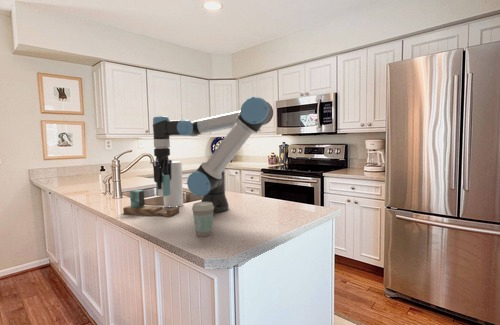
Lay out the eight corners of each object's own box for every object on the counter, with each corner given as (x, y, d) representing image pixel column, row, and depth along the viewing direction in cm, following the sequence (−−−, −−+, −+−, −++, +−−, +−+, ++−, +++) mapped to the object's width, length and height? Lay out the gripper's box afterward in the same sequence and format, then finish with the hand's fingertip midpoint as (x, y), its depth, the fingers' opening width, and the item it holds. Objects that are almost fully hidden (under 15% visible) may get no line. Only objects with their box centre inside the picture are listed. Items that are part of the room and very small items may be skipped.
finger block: (170, 194, 140) (169, 174, 139) (165, 196, 136) (165, 175, 135) (160, 194, 142) (160, 174, 141) (156, 195, 138) (155, 175, 137)
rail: (179, 212, 141) (178, 190, 140) (171, 216, 134) (170, 193, 134) (132, 210, 149) (131, 189, 148) (123, 213, 142) (122, 191, 141)
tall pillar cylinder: (186, 203, 163) (184, 161, 161) (178, 207, 152) (176, 162, 150) (169, 203, 165) (167, 161, 163) (160, 207, 154) (158, 162, 152)
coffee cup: (194, 231, 111) (192, 201, 110) (215, 230, 112) (214, 200, 111) (191, 238, 103) (190, 206, 102) (214, 237, 103) (213, 205, 102)
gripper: (165, 147, 146) (166, 191, 148) (144, 148, 130) (146, 197, 132) (177, 147, 144) (179, 191, 146) (158, 148, 128) (160, 198, 130)
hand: (163, 194), depth 139 cm, fingers closed on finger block, 4 cm apart
